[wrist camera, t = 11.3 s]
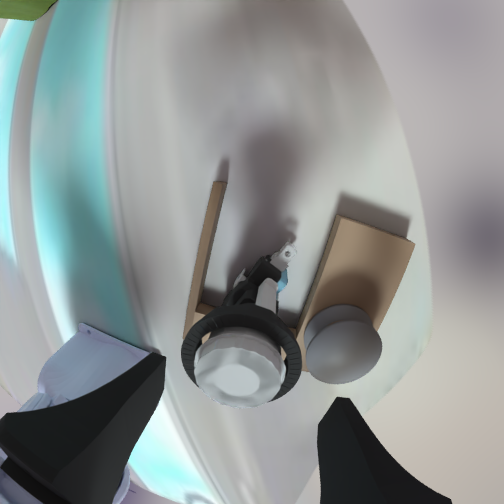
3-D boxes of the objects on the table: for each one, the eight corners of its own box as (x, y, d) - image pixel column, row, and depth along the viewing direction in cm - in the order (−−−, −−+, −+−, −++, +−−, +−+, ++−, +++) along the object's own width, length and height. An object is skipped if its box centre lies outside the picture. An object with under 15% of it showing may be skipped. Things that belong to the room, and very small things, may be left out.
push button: (261, 218, 18) (241, 271, 9) (321, 265, 19) (355, 353, 9) (207, 288, 20) (154, 377, 11) (263, 328, 21) (250, 432, 11)
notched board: (188, 328, 21) (171, 358, 17) (218, 181, 18) (201, 183, 14) (346, 367, 21) (355, 400, 17) (406, 238, 17) (433, 255, 14)
